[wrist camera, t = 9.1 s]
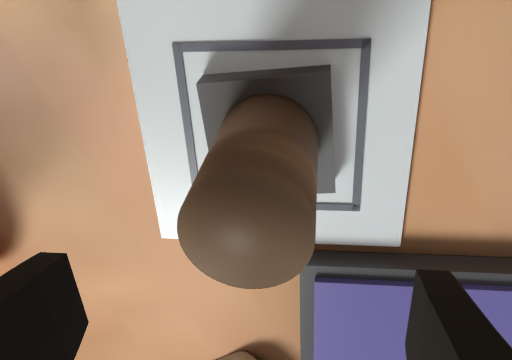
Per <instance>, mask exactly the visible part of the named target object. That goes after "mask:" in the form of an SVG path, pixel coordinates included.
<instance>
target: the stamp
mask: <svg viewBox="0 0 512 360" xmlns="http://www.w3.org/2000/svg"><path fill="white" fill-rule="evenodd" d="M196 87H197V92H198V97H199V103H200V108H201V114H202V119H203V124H204V130H205V135H206V141H207V146H208V153H207V155H206V157H205V159H204V161H203V163H202V165H201V167H200V169H199V171H198V174H197V176H196V178H195V180H194V182H193V184H192V186H191V188H190V190H189V192H188V194H187V196H186V198H185V200H184V202H183V204H182V206H181V208H180V211H179V214H178V219H177V233H178V238H179V241H180V245H181V247H182V249H183V251H184V252H185V254H186V256H187V257H188V258H189V260H190V261H191V262H192V263H193V264H194V265H195V266H196V267H197V268H198V269H199V270H200V271H202V272H203V273H204V274H206V275H207V276H209V277H211V278H212V279H214V280H216V281H219V282H221V283H224V284H226V285H229V286H233V287H238V288H244V289H262V288H269V287H273V286H277V285H280V284H282V283H285V282H287V281H289V280H290V279H292V278H294V277H295V276H296V275H298V274H299V273H300V272H301V271H302V270H303V269H304V268H305V266H306V265H307V264H308V262H309V261H310V259H311V257H312V254H313V251H314V247H315V239H316V205H317V194H322V193H336V191H335V165H334V140H333V115H332V90H331V65H317V66H305V67H292V68H280V69H267V70H255V71H242V72H230V73H217V74H205V75H202V76H201V78H200V79H199V80H198V82H197V83H196Z"/></svg>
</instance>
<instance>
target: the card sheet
mask: <svg viewBox="0 0 512 360" xmlns="http://www.w3.org/2000/svg"><path fill="white" fill-rule="evenodd" d="M116 1H117V6H118V12H119V17H120V22H121V27H122V33H123V38H124V43H125V48H126V54H127V59H128V64H129V69H130V75H131V80H132V85H133V90H134V96H135V101H136V106H137V111H138V117H139V122H140V127H141V132H142V138H143V143H144V148H145V153H146V158H147V164H148V169H149V174H150V179H151V185H152V190H153V195H154V200H155V206H156V211H157V216H158V221H159V227H160V232H161V237H162V238H169V239H179V238H178V233H177V219H178V214H179V211H180V208H181V206H182V204H183V202H184V200H185V198H186V196H187V194H188V192H189V190H190V188H191V186H192V184H193V182H194V180H195V178H196V176H197V174H198V171H199V169H200V167H201V165H202V163H203V161H204V159H205V157H206V155H207V153H208V146H207V141H206V135H205V130H204V124H203V119H202V114H201V108H200V103H199V97H198V92H197V87H196V83H197V82H198V80H199V79H200V78H201V76H202V75H205V74H217V73H230V72H242V71H255V70H267V69H280V68H292V67H305V66H317V65H331V90H332V115H333V140H334V165H335V191H336V193H322V194H317V205H316V239H315V244H336V245H363V246H391V247H400V245H401V237H402V229H403V221H404V213H405V205H406V197H407V189H408V181H409V173H410V165H411V157H412V149H413V141H414V133H415V125H416V117H417V109H418V101H419V93H420V85H421V77H422V69H423V61H424V53H425V45H426V37H427V29H428V21H429V13H430V5H431V0H116Z"/></svg>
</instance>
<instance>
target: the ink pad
mask: <svg viewBox="0 0 512 360" xmlns="http://www.w3.org/2000/svg"><path fill="white" fill-rule="evenodd" d="M416 269H421V270H443V271H450V272H451V273H452V274H453V275H454V276H455V277H456V279H457V280H458V281H459V283H460V284H461V285H462V286H463V288H464V289H465V290H466V292H467V293H468V294H469V296H470V297H471V298H472V299H473V301H474V302H475V303H476V305H477V306H478V307H479V308H480V310H481V311H482V312H483V313H484V315H485V316H486V317H487V318H488V320H489V321H490V322H491V323H492V325H493V326H494V327H495V328H496V330H497V331H498V332H499V333H500V334H501V336H502V337H503V338H504V339H505V340H506V342H507V343H508V344H509V345H510V346H511V347H512V258H504V257H477V256H451V255H425V254H398V253H372V252H346V251H319V250H314V251H313V254H312V257H311V259H310V261H309V262H308V264H307V265H306V266H305V268H304V269H303V270H302V271H301V272H300V337H301V360H407V359H406V350H405V339H406V333H407V326H408V319H409V313H410V306H411V299H412V293H413V286H414V279H415V273H416Z"/></svg>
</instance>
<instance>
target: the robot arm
mask: <svg viewBox="0 0 512 360" xmlns="http://www.w3.org/2000/svg"><path fill="white" fill-rule="evenodd" d="M88 323H89V322H88V319H87V316H86V313H85V310H84V306H83V303H82V300H81V297H80V294H79V291H78V288H77V285H76V282H75V278H74V275H73V272H72V269H71V266H70V263H69V260H68V257H67V254H66V253H46V252H40V253H38V254H36V255H35V256H33V257H31V258H29V259H28V260H26V261H24V262H23V263H21V264H19V265H18V266H16V267H15V268H13V269H11V270H10V271H8V272H7V273H5V274H4V275H2V276H0V360H74V358H75V356H76V354H77V351H78V349H79V347H80V344H81V341H82V339H83V336H84V333H85V331H86V328H87V326H88ZM405 350H406V359H407V360H512V347H511V346H510V345H509V344H508V343H507V342H506V340H505V339H504V338H503V337H502V336H501V334H500V333H499V332H498V331H497V330H496V328H495V327H494V326H493V325H492V323H491V322H490V321H489V320H488V318H487V317H486V316H485V315H484V313H483V312H482V311H481V310H480V308H479V307H478V306H477V305H476V303H475V302H474V301H473V299H472V298H471V297H470V296H469V294H468V293H467V292H466V290H465V289H464V288H463V286H462V285H461V284H460V283H459V281H458V280H457V279H456V277H455V276H454V275H453V274H452V273H451V272H450V271H443V270H421V269H416V273H415V279H414V286H413V293H412V299H411V306H410V313H409V319H408V326H407V333H406V339H405Z"/></svg>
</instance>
